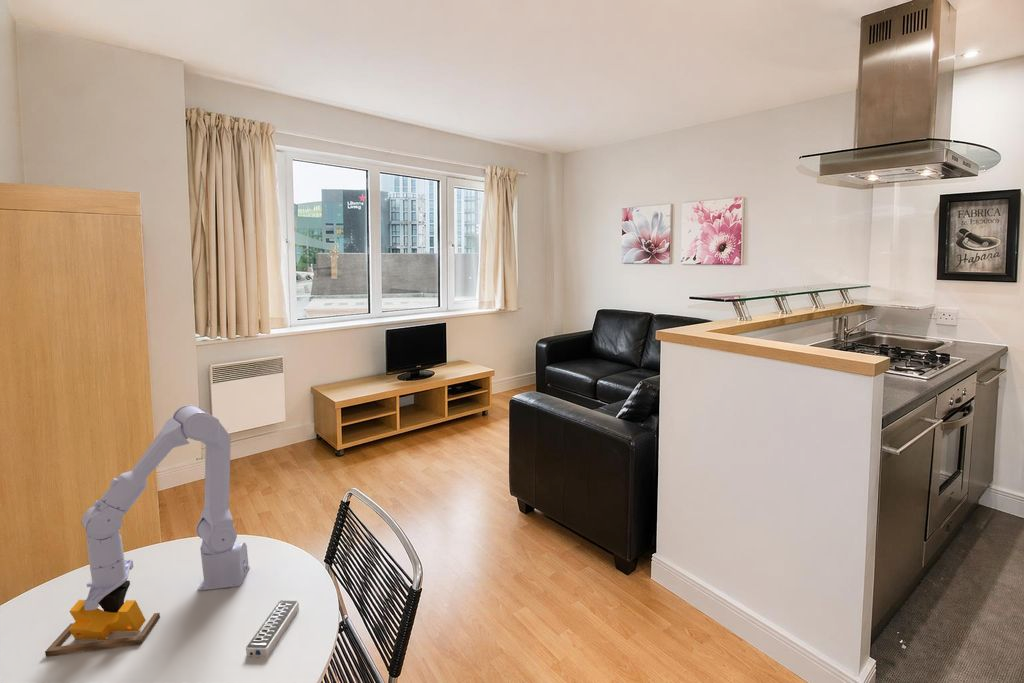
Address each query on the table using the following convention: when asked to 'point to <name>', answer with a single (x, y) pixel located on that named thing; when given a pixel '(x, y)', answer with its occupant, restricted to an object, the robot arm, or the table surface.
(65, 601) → the table surface
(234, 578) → the robot arm
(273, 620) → the multiport hub
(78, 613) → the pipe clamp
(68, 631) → the bay
